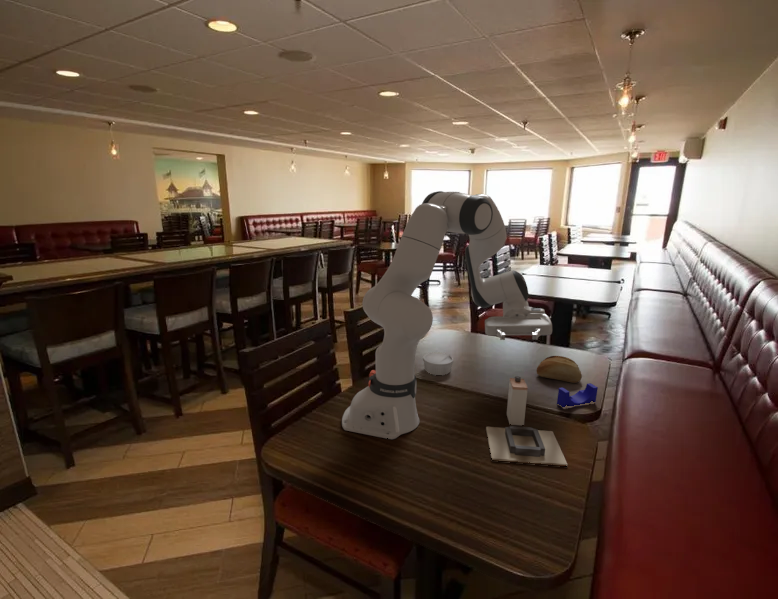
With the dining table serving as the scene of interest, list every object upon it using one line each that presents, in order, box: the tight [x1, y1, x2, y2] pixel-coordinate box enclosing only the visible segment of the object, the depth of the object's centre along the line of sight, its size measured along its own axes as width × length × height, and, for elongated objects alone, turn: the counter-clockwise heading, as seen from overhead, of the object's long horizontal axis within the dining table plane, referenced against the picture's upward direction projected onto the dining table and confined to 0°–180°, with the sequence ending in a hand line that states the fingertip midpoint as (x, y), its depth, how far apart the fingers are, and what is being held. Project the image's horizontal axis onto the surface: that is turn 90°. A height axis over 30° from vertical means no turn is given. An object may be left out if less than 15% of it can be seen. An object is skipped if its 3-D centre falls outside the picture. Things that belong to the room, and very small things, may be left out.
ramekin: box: [422, 351, 454, 376], centre depth 150 cm, size 11×11×5 cm
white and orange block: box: [506, 376, 529, 426], centre depth 117 cm, size 4×6×13 cm
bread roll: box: [536, 355, 583, 384], centre depth 144 cm, size 10×15×8 cm, turn 71°
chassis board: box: [485, 425, 569, 467], centre depth 106 cm, size 18×14×3 cm
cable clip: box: [556, 383, 599, 407], centre depth 127 cm, size 12×4×6 cm, turn 106°
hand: (518, 337), depth 122 cm, fingers open, 8 cm apart
